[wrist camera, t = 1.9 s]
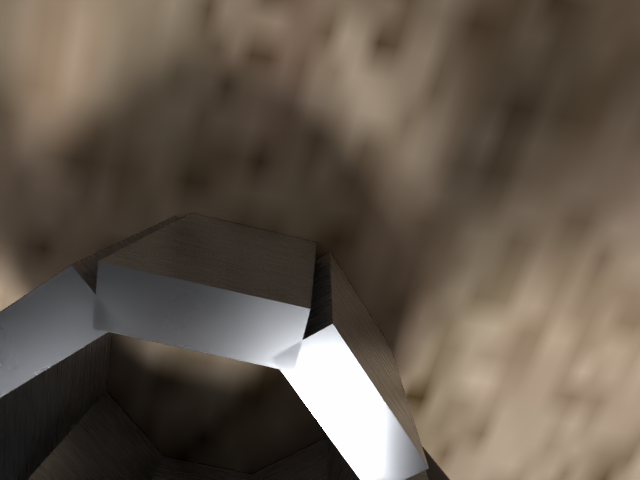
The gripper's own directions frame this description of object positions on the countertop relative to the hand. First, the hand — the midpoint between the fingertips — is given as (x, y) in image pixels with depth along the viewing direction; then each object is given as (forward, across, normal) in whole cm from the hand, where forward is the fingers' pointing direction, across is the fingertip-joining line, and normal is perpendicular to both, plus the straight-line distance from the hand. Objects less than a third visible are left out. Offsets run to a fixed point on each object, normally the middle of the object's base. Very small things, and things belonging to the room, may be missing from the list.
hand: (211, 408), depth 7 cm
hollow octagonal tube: (+1, 0, 0) cm, 1 cm away
